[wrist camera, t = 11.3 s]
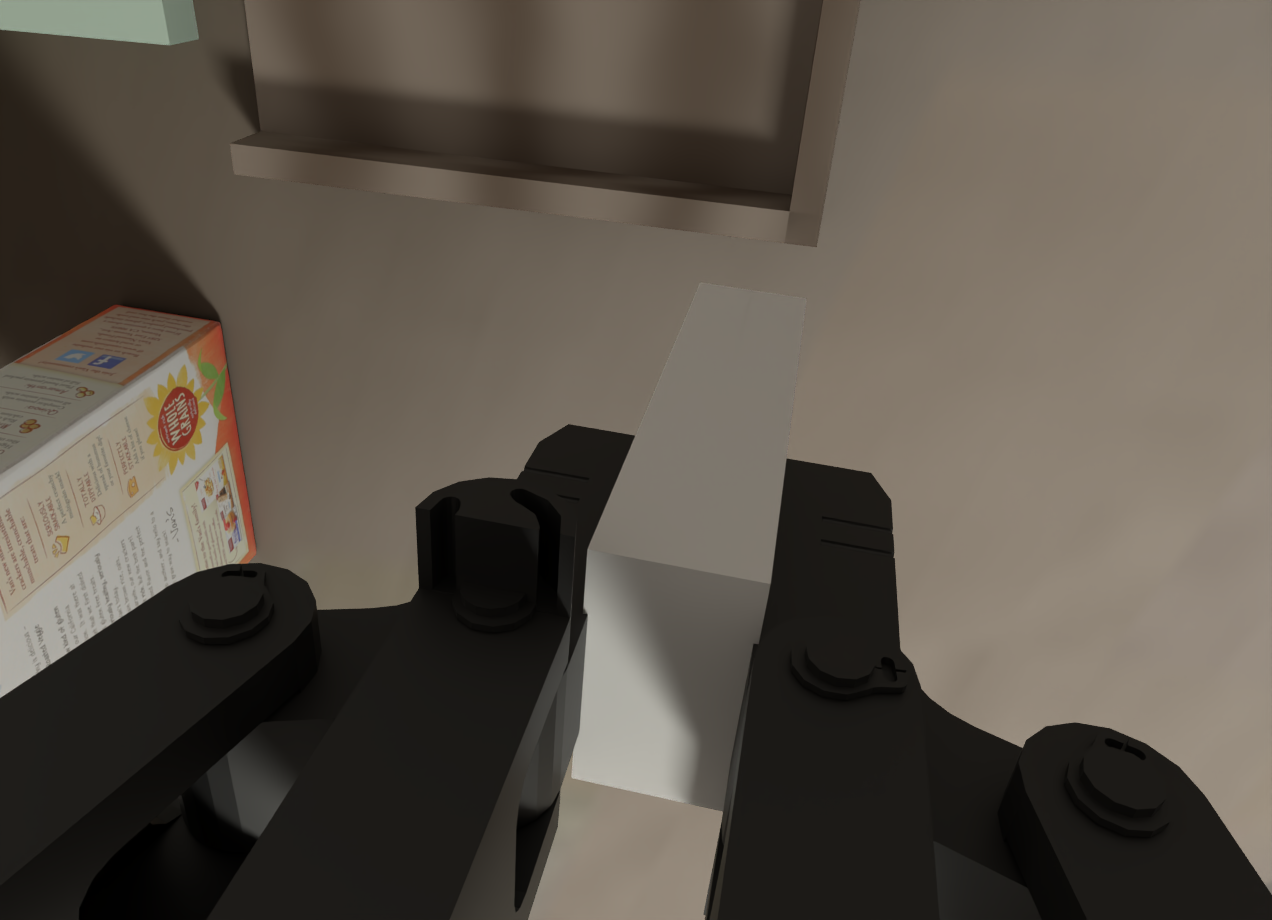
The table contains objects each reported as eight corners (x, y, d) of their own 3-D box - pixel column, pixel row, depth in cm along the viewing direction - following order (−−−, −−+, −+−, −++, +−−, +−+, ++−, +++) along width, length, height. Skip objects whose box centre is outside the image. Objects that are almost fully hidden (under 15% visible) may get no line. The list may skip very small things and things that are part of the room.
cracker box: (109, 299, 45) (-352, 552, 28) (227, 318, 45) (-166, 589, 27) (158, 535, 53) (-181, 858, 35) (260, 554, 52) (-32, 892, 34)
